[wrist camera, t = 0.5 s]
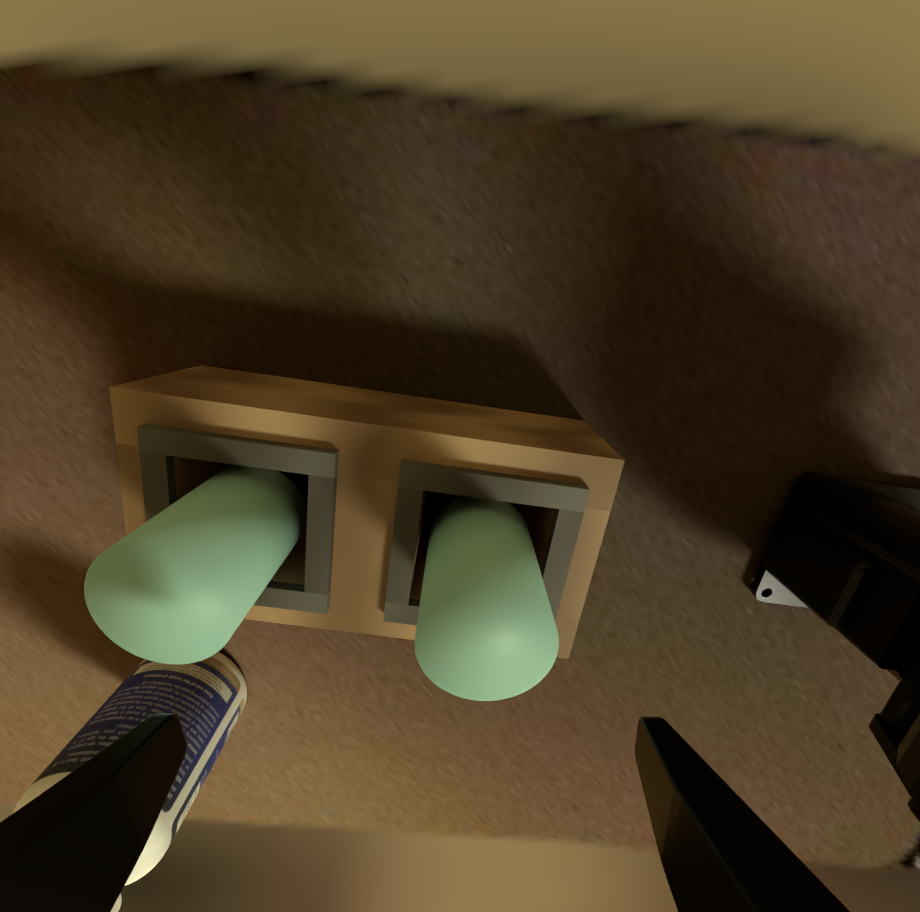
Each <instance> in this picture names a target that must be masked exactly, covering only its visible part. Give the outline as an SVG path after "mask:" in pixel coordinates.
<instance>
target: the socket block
mask: <svg viewBox="0 0 920 912" xmlns="http://www.w3.org/2000/svg"><path fill="white" fill-rule="evenodd" d="M109 389H110V398H111V406H112V415H113V424H114V433H115V442H116V450H117V459H118V468H119V477H120V486H121V494H122V503H123V512H124V521H125V529H126V536H127V535H128V534H130V533H131V532H133V531H134V530H135V529H137V528H138V527H140V526H141V525H143V524H144V523H146V522H147V521H149V520H150V519H151V518H153V517H154V516H156V515H157V514H159V513H160V512H162V511H163V510H164V509H166V508H167V507H169V506H170V505H172V504H173V503H175V502H176V501H178V500H179V499H180V498H182V497H183V496H185V495H186V494H188V493H189V492H191V491H192V490H193V489H195V488H196V487H198V486H199V485H201V484H202V483H204V482H205V481H206V480H208V479H209V478H211V477H212V476H214V475H215V474H217V473H218V472H220V471H221V470H222V469H224V468H226V467H228V466H231V465H241V466H248V467H255V468H263V469H270V470H277V471H285V472H292V473H299V474H307V475H309V480H308V507H307V521H306V526H305V529H304V532H303V534H302V535H301V537H300V539H299V540H298V541H297V543H296V544H295V546H294V547H293V549H292V550H291V551H290V553H289V554H288V556H287V557H286V559H285V560H284V562H283V563H282V564H281V566H280V567H279V569H278V570H277V572H276V573H275V574H274V576H273V577H272V579H271V580H270V582H269V583H268V585H267V586H266V587H265V589H264V590H263V592H262V593H261V595H260V596H259V597H258V599H257V600H256V602H255V603H254V605H253V606H252V607H251V609H250V610H249V612H248V613H247V615H246V616H245V618H244V619H249V620H257V621H265V622H273V623H282V624H290V625H298V626H306V627H314V628H322V629H330V630H339V631H347V632H355V633H363V634H371V635H379V636H387V637H395V638H404V639H412V640H415V633H416V626H417V619H418V612H419V605H420V598H421V591H422V585H423V578H424V571H425V564H426V557H427V550H428V543H429V536H430V531H424V530H422V525H423V518H424V510H425V503H426V495H427V491H431V492H438V493H445V494H453V495H460V496H467V497H475V498H482V499H489V500H496V501H504V502H511V503H518V504H523V509H522V513H521V515H522V516H523V518H524V519H525V522H526V524H527V527H528V530H529V533H530V537H531V540H532V544H533V547H534V551H535V554H536V558H537V561H538V565H539V568H540V572H541V575H542V579H543V582H544V586H545V589H546V593H547V596H548V599H549V603H550V606H551V610H552V613H553V617H554V620H555V624H556V627H557V631H558V637H559V648H558V653H557V657H558V658H566V659H568V658H569V655H570V651H571V648H572V644H573V641H574V637H575V634H576V630H577V627H578V623H579V620H580V616H581V613H582V609H583V606H584V602H585V599H586V595H587V592H588V588H589V585H590V581H591V578H592V574H593V571H594V567H595V564H596V560H597V557H598V553H599V550H600V546H601V543H602V539H603V536H604V532H605V529H606V525H607V522H608V518H609V515H610V511H611V507H612V504H613V500H614V497H615V493H616V490H617V486H618V483H619V479H620V476H621V472H622V469H623V465H624V462H625V460H624V459H623V458H622V457H621V456H620V455H619V454H618V453H617V452H616V451H615V450H614V449H613V448H612V447H611V446H610V445H609V444H608V443H607V442H606V441H605V440H603V439H602V438H601V437H600V436H599V435H598V434H597V433H596V432H595V431H594V430H593V429H592V428H591V427H590V426H589V425H588V424H587V423H586V422H585V421H583V420H576V419H569V418H562V417H555V416H548V415H541V414H534V413H528V412H521V411H514V410H507V409H500V408H493V407H486V406H479V405H473V404H466V403H459V402H452V401H445V400H438V399H431V398H425V397H418V396H411V395H404V394H397V393H390V392H383V391H376V390H370V389H363V388H356V387H349V386H342V385H335V384H328V383H321V382H315V381H308V380H301V379H294V378H287V377H280V376H273V375H267V374H260V373H253V372H246V371H239V370H232V369H225V368H218V367H212V366H205V365H200V366H196V367H191V368H187V369H183V370H179V371H175V372H170V373H166V374H162V375H158V376H153V377H149V378H145V379H141V380H136V381H132V382H128V383H124V384H119V385H115V386H111V387H109Z"/></svg>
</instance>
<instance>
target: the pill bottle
mask: <svg viewBox="0 0 920 912" xmlns="http://www.w3.org/2000/svg"><path fill="white" fill-rule="evenodd" d="M246 698H247V687H246V683H245V680H244V677H243V675H242V673H241V672H240V670H239V669H238V667H237V666H236V665H235V664H234V663H233V662H232V661H231V660H230V659H229V658H227V657H226V656H225V655H223V654H221V653H220V652H217V653H216V654H214V655H212V656H211V657H209V658H207V659H204V660H202V661H198V662H194V663H189V664H164V663H158V662H153V661H150V660H146V659H144V660H143V661H142V662H141V663H140V664H139V665H138V666H137V667H136V668H135V669H134V670H133V671H132V672H131V674H130V675H129V676H128V677H127V678H126V679H125V680H124V681H123V682H122V684H121V685H120V686H119V687H118V688H117V689H116V690H115V692H114V693H113V694H112V695H111V696H110V697H109V698H108V699H107V701H106V702H105V703H104V704H103V705H102V706H101V707H100V708H99V710H98V711H97V712H96V713H95V714H94V715H93V716H92V717H91V718H90V719H89V720H88V721H87V723H86V724H85V725H84V726H83V727H82V728H81V729H80V731H79V732H78V733H77V734H76V735H75V736H74V737H73V739H72V740H71V741H70V742H69V743H68V744H67V745H66V746H65V748H64V749H63V750H62V751H61V752H60V753H59V754H58V755H57V756H56V758H55V759H54V760H53V761H52V762H51V763H50V764H49V765H48V767H47V768H46V769H45V770H44V771H43V772H42V773H41V774H40V775H39V777H38V778H37V779H36V780H35V781H34V782H33V783H32V785H31V786H30V787H29V788H28V789H27V791H26V792H25V793H24V794H23V796H22V797H21V798H20V800H19V802H18V803H17V805H16V807H15V809H14V811H13V813H15V812H16V811H17V810H19V809H20V808H22V807H23V806H24V805H26V804H27V803H29V802H30V801H32V800H33V799H34V798H36V797H37V796H39V795H40V794H41V793H43V792H44V791H46V790H47V789H48V788H50V787H51V786H53V785H54V784H55V783H57V782H58V781H60V780H61V779H63V778H64V777H65V776H67V775H68V774H70V773H71V772H72V771H74V770H75V769H77V768H78V767H79V766H81V765H82V764H84V763H85V762H86V761H88V760H89V759H91V758H92V757H94V756H95V755H96V754H98V753H99V752H101V751H102V750H103V749H105V748H106V747H108V746H109V745H110V744H112V743H113V742H115V741H116V740H117V739H119V738H120V737H122V736H123V735H125V734H126V733H127V732H129V731H130V730H132V729H133V728H134V727H136V726H137V725H139V724H140V723H141V722H143V721H144V720H146V719H147V718H148V717H150V716H152V715H154V714H157V713H174V714H176V715H177V716H178V717H179V719H180V722H181V725H182V728H183V732H184V735H185V738H186V741H187V751H186V755H185V758H184V760H183V762H182V765H181V767H180V769H179V771H178V774H177V776H176V778H175V780H174V783H173V785H172V787H171V790H170V792H169V794H168V796H167V799H166V801H165V803H164V805H163V808H162V810H161V812H160V814H159V817H158V819H157V821H156V823H155V826H154V828H153V830H152V833H151V835H150V837H149V839H148V841H147V843H146V845H145V847H144V850H143V851H142V853H141V855H140V857H139V859H138V861H137V863H136V865H135V867H134V869H133V871H132V873H131V874H130V876H129V878H128V880H127V882H126V884H125V885H128V884H130V883H132V882H134V881H136V880H138V879H140V878H141V877H143V876H144V875H145V874H147V873H148V872H149V871H150V870H151V869H153V868H154V866H155V865H156V864H157V863H158V862H159V861H160V860H161V858H162V857H163V855H164V854H165V852H166V850H167V849H168V847H169V845H170V843H171V842H172V840H173V838H174V836H175V834H176V833H177V831H178V829H179V827H180V825H181V823H182V821H183V820H184V818H185V816H186V814H187V812H188V810H189V809H190V807H191V805H192V803H193V801H194V799H195V798H196V796H197V794H198V792H199V790H200V788H201V787H202V785H203V783H204V781H205V779H206V777H207V776H208V774H209V772H210V770H211V768H212V766H213V765H214V763H215V761H216V759H217V757H218V755H219V753H220V752H221V750H222V748H223V746H224V744H225V742H226V741H227V739H228V737H229V735H230V733H231V732H232V730H233V728H234V726H235V724H236V722H237V720H238V718H239V716H240V714H241V712H242V710H243V708H244V706H245V703H246ZM121 900H122V898H121V893H120V895H119V897H118V899H117V900H116V902H115V904H114V906H113V908H112V910H111V912H118V911H119V908H120V906H121Z"/></svg>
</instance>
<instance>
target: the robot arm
mask: <svg viewBox="0 0 920 912" xmlns="http://www.w3.org/2000/svg"><path fill="white" fill-rule="evenodd" d="M812 481H813V484H812V485H811V486H810V487H808V485H809V484H810V483H811V482H812ZM764 589H766V590H765V591H763V590H764ZM762 591H763V592H762ZM751 592H752V594H753V595H754V596H755V597H756V598H757V599H758V600H759V601H762V602H769V603H776V604H784V605H792V606H799V607H807V608H809V609H811V610H812V611H813V612H814V613H815V614H816V615H817V616H819V617H820V618H821V619H822V620H823V621H824V622H825V623H826V624H828V625H829V626H831V627H834V628H835V629H836V630H837V631H838V632H839V633H841V634H842V635H843V636H844V637H845V638H846V639H847V640H849V641H850V642H851V643H852V644H853V645H854V646H855V647H857V648H858V649H859V650H860V651H861V652H862V653H863V654H865V655H866V656H867V657H868V658H869V659H870V660H871V661H873V662H874V663H875V664H876V665H877V666H878V667H879V668H882V669H886V670H887V671H889V672H890V673H891V674H892V675H893V676H894V677H896V678H897V679H898V680H899V681H900V682H899V683H898V685H897V687H896V688H895V690H894V691H893V693H892V695H891V696H890V698H889V700H888V701H887V703H886V705H885V706H884V708H883V710H882V711H881V713H880V714H875V716H874V718H873V719H872V721H871V723H870V724H869V728H870V729H871V731H872V733H873V734H874V736H875V738H876V739H877V741H878V743H879V744H880V746H881V748H882V749H883V751H884V753H885V754H886V756H887V758H888V759H889V761H890V763H891V765H892V766H893V768H894V770H895V771H896V773H897V775H898V776H899V778H900V780H901V781H902V783H903V785H904V786H905V788H906V790H907V791H908V793H909V795H910V796H911V798H910V799H909V801H908V806H909V808H910V810H911V811H912V813H913V814H914V816H915V817H916V819H917V820H918V821H919V822H920V488H919V487H912V486H905V485H898V484H892V483H885V482H878V481H871V480H864V479H857V478H850V477H843V476H836V475H829V474H822V473H815V472H807V473H804V474H802V475H801V476H800V477H799V478H798V479H797V481H796V483H795V485H794V488H793V490H792V493H791V495H790V497H789V500H788V502H787V504H786V507H785V509H784V511H783V514H782V516H781V518H780V521H779V523H778V525H777V528H776V530H775V532H774V535H773V537H772V539H771V542H770V544H769V546H768V549H767V551H766V553H765V556H764V558H763V560H762V563H761V565H760V567H759V570H758V572H757V574H756V577H755V579H754V582H753V584H752V586H751ZM186 751H187V741H186V738H185V735H184V732H183V728H182V725H181V722H180V719H179V717H178V716H177V715H176V714H174V713H157V714H154V715H152V716H150V717H148V718H147V719H146V720H144V721H143V722H141V723H140V724H139V725H137V726H136V727H134V728H133V729H132V730H130V731H129V732H127V733H126V734H125V735H123V736H122V737H120V738H119V739H117V740H116V741H115V742H113V743H112V744H110V745H109V746H108V747H106V748H105V749H103V750H102V751H101V752H99V753H98V754H96V755H95V756H94V757H92V758H91V759H89V760H88V761H86V762H85V763H84V764H82V765H81V766H79V767H78V768H77V769H75V770H74V771H72V772H71V773H70V774H68V775H67V776H65V777H64V778H63V779H61V780H60V781H58V782H57V783H55V784H54V785H53V786H51V787H50V788H48V789H47V790H46V791H44V792H43V793H41V794H40V795H39V796H37V797H36V798H34V799H33V800H32V801H30V802H29V803H27V804H26V805H24V806H23V807H22V808H20V809H19V810H17V811H16V812H15V813H13V814H12V815H10V816H9V817H8V818H6V819H5V820H3V821H2V822H1V823H0V912H111V910H112V908H113V906H114V904H115V902H116V900H117V899H118V897H119V895H120V893H121V891H122V889H123V887H124V886H125V884H126V882H127V880H128V878H129V876H130V874H131V873H132V871H133V869H134V867H135V865H136V863H137V861H138V859H139V857H140V855H141V853H142V851H143V850H144V847H145V845H146V843H147V841H148V839H149V837H150V835H151V833H152V830H153V828H154V826H155V823H156V821H157V819H158V817H159V814H160V812H161V810H162V808H163V805H164V803H165V801H166V799H167V796H168V794H169V792H170V790H171V787H172V785H173V783H174V780H175V778H176V776H177V774H178V771H179V769H180V767H181V765H182V762H183V760H184V758H185V755H186ZM635 757H636V762H637V767H638V771H639V775H640V779H641V783H642V787H643V791H644V795H645V799H646V803H647V807H648V811H649V815H650V819H651V823H652V827H653V831H654V835H655V839H656V843H657V847H658V851H659V855H660V859H661V862H662V865H663V868H664V872H665V875H666V878H667V881H668V884H669V886H670V890H671V893H672V895H673V898H674V901H675V904H676V907H677V910H678V912H850V911H849V910H848V909H847V908H846V907H845V906H844V905H843V904H842V903H841V902H840V901H839V900H838V899H837V898H836V897H835V896H834V895H833V894H832V892H831V891H830V890H829V889H827V887H826V886H825V885H824V884H823V883H822V882H821V881H820V880H819V879H818V878H817V877H816V876H815V875H814V874H813V873H812V872H811V871H810V870H809V869H808V868H807V867H806V866H805V864H804V863H803V862H802V861H801V860H800V859H799V858H798V857H797V856H796V855H795V854H794V853H793V852H792V851H791V850H790V849H789V848H788V847H787V846H786V845H785V844H784V843H783V842H782V841H781V840H780V839H779V838H778V836H777V835H776V834H775V833H774V832H773V831H772V830H771V829H770V828H769V827H768V826H767V825H766V824H765V823H764V822H763V821H762V820H761V819H760V818H759V817H758V816H757V815H756V814H755V813H754V812H753V811H752V810H751V808H750V807H749V806H748V805H747V804H746V803H745V802H744V801H743V800H742V799H741V798H740V797H739V796H738V795H737V794H736V793H735V792H734V791H733V790H732V789H731V788H730V787H729V786H728V785H727V784H726V783H725V782H724V781H723V779H722V778H721V777H720V776H719V775H718V774H717V773H716V772H715V771H714V770H713V769H712V768H711V767H710V766H709V765H708V764H707V763H706V762H705V761H704V760H703V759H702V758H701V757H700V756H699V755H698V754H697V753H696V751H695V750H694V749H693V748H692V747H691V746H690V745H689V744H688V743H687V742H686V741H685V740H684V739H683V738H682V737H681V736H680V735H679V734H678V733H677V732H676V731H675V730H674V729H673V728H672V727H671V726H670V725H669V723H668V722H667V721H665V720H664V719H663V718H661V717H641V718H640V719H639V721H638V728H637V736H636V744H635Z"/></svg>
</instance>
